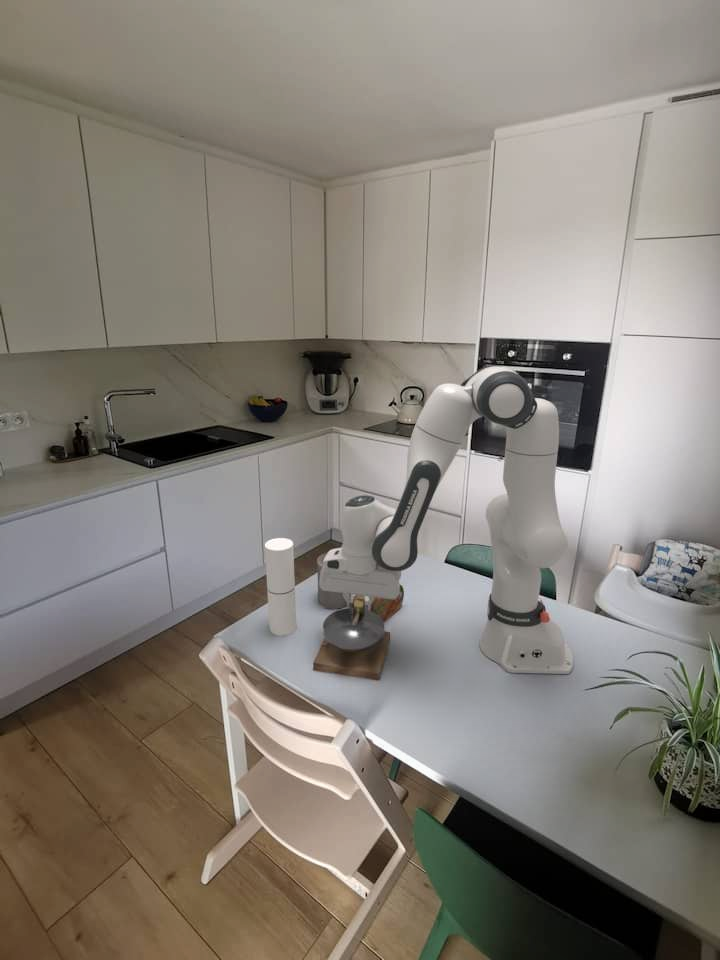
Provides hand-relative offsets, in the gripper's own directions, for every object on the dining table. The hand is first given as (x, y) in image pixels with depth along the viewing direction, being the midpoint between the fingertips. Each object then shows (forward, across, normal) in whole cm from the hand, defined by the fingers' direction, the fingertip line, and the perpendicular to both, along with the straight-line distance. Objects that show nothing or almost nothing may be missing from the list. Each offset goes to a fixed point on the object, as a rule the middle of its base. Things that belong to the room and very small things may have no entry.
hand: (359, 607), depth 127 cm
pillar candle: (+10, +11, -16) cm, 22 cm away
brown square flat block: (+9, 0, +6) cm, 11 cm away
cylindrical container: (+10, +21, 0) cm, 23 cm away
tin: (+10, -5, -12) cm, 16 cm away
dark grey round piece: (+3, 0, +6) cm, 7 cm away
